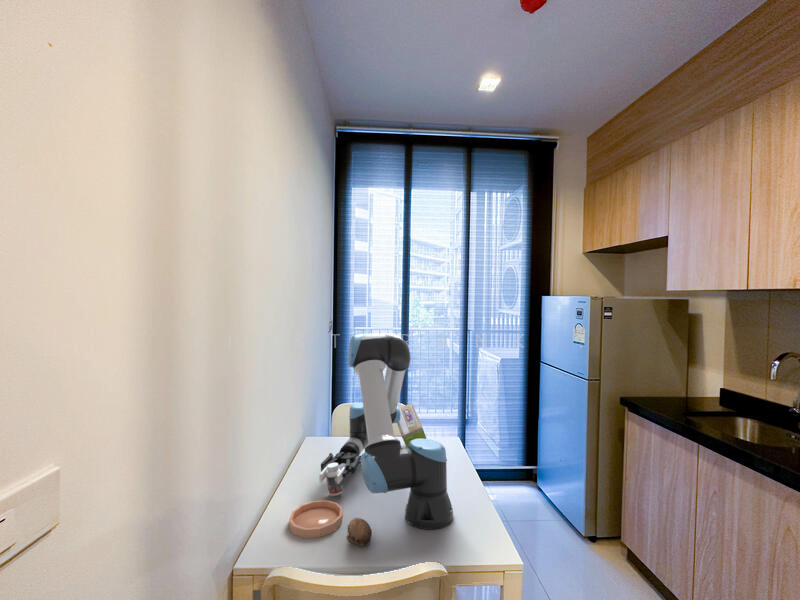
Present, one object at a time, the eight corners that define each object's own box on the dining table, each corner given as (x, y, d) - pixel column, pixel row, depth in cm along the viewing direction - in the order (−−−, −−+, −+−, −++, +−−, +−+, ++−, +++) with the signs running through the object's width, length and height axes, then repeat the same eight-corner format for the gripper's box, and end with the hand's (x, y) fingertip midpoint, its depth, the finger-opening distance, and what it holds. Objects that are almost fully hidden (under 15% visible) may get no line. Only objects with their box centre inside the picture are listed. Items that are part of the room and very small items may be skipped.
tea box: (399, 428, 179) (392, 409, 171) (418, 420, 180) (412, 401, 172) (409, 454, 167) (401, 435, 158) (429, 446, 168) (422, 426, 159)
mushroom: (336, 531, 105) (349, 514, 105) (353, 529, 111) (365, 512, 111) (350, 557, 99) (364, 538, 99) (368, 552, 106) (381, 535, 106)
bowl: (351, 524, 113) (351, 516, 114) (301, 544, 104) (301, 536, 104) (329, 502, 126) (329, 495, 127) (282, 518, 117) (282, 511, 117)
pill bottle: (325, 494, 131) (321, 466, 131) (337, 487, 135) (333, 460, 135) (334, 497, 127) (331, 469, 127) (346, 490, 131) (343, 463, 131)
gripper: (373, 461, 148) (355, 492, 125) (329, 458, 151) (304, 487, 129) (373, 443, 148) (354, 470, 125) (329, 440, 151) (304, 465, 129)
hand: (329, 478), depth 127 cm, fingers closed on pill bottle, 6 cm apart
